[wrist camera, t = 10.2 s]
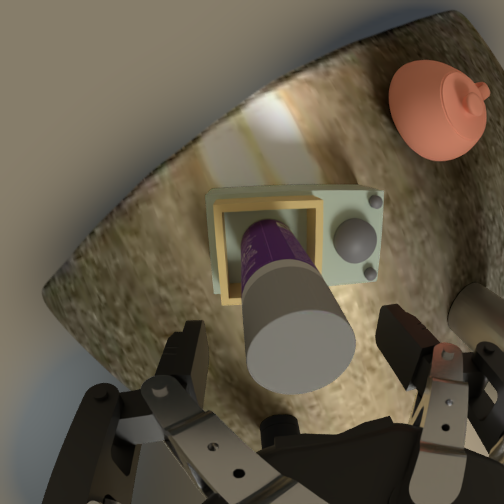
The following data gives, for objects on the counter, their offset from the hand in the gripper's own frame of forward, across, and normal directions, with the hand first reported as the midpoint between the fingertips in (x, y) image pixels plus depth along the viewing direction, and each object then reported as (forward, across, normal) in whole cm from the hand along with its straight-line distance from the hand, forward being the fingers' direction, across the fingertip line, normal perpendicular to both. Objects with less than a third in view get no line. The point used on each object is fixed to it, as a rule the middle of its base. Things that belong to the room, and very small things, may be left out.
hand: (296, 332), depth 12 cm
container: (+14, 0, 0) cm, 14 cm away
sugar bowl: (+20, -21, -15) cm, 32 cm away
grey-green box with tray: (+19, -3, 0) cm, 20 cm away
